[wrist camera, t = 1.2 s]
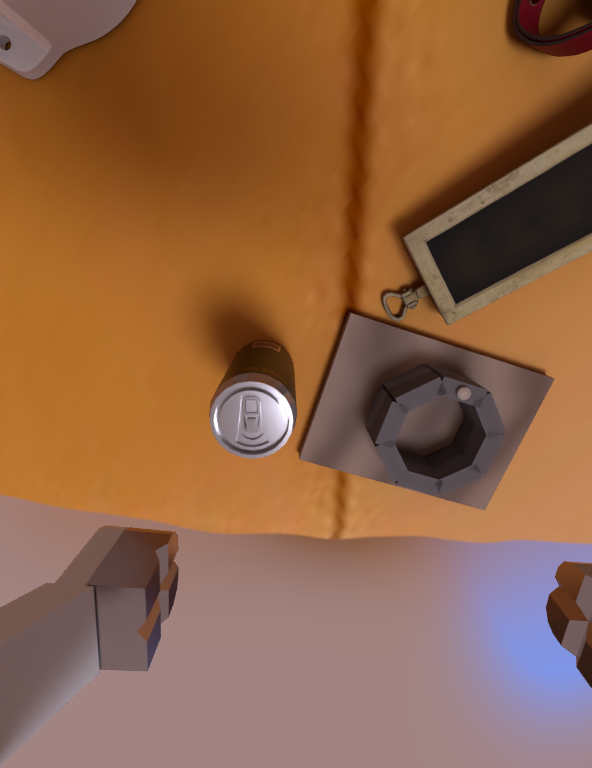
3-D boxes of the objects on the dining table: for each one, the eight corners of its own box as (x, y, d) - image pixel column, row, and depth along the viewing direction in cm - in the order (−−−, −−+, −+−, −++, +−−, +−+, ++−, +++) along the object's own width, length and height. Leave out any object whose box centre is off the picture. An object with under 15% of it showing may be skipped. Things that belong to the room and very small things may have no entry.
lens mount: (299, 453, 37) (300, 485, 31) (348, 311, 33) (360, 320, 27) (478, 502, 39) (509, 541, 33) (545, 374, 35) (592, 394, 29)
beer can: (231, 338, 33) (202, 377, 22) (294, 338, 33) (297, 377, 22) (234, 397, 35) (208, 462, 23) (294, 397, 35) (297, 461, 23)
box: (673, 187, 29) (734, 179, 25) (402, 338, 36) (410, 354, 31) (637, 79, 27) (695, 48, 23) (358, 261, 34) (359, 265, 29)
